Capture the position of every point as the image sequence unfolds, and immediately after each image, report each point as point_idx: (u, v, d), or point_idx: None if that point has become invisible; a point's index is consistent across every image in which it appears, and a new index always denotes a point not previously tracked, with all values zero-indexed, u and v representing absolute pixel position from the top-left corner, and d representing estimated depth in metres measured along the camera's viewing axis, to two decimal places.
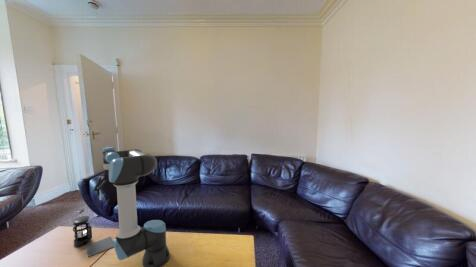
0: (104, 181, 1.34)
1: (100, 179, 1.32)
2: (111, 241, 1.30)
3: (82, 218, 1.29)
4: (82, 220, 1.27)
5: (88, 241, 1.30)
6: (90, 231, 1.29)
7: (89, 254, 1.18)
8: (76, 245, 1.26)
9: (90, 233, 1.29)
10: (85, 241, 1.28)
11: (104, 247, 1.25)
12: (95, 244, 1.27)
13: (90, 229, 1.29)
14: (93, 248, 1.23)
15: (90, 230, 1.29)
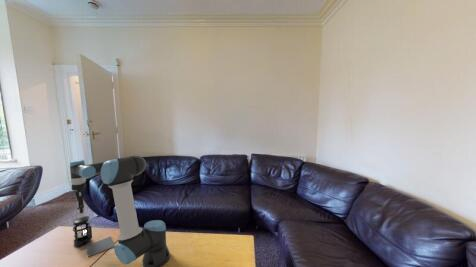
0: None
1: None
2: (111, 241, 1.30)
3: (82, 218, 1.29)
4: (82, 220, 1.27)
5: (88, 241, 1.30)
6: (90, 231, 1.29)
7: (89, 254, 1.18)
8: (76, 245, 1.26)
9: (90, 233, 1.29)
10: (85, 241, 1.28)
11: (104, 247, 1.25)
12: (95, 244, 1.27)
13: (90, 229, 1.29)
14: (93, 248, 1.23)
15: (90, 230, 1.29)
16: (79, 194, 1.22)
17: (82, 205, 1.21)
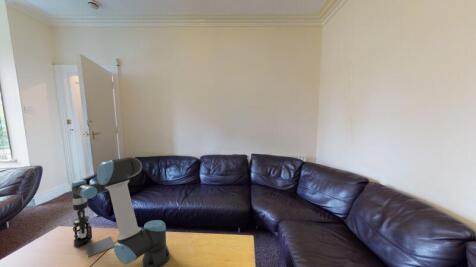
0: None
1: (78, 210, 1.32)
2: (111, 241, 1.30)
3: None
4: None
5: (88, 241, 1.30)
6: (90, 231, 1.29)
7: (89, 254, 1.18)
8: (76, 245, 1.26)
9: (90, 233, 1.29)
10: (85, 241, 1.28)
11: (104, 247, 1.25)
12: (95, 244, 1.27)
13: (90, 229, 1.29)
14: (93, 248, 1.23)
15: (90, 230, 1.29)
16: (81, 215, 1.23)
17: (84, 226, 1.24)
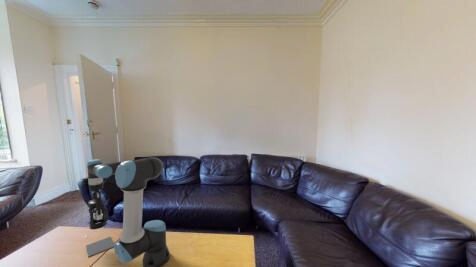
0: None
1: None
2: (111, 241, 1.30)
3: None
4: None
5: (104, 224, 1.24)
6: (106, 213, 1.24)
7: (89, 254, 1.18)
8: (92, 227, 1.20)
9: (106, 215, 1.24)
10: (101, 223, 1.22)
11: (104, 247, 1.25)
12: (95, 244, 1.27)
13: (106, 211, 1.24)
14: (93, 248, 1.23)
15: (106, 212, 1.24)
16: (97, 196, 1.18)
17: (100, 207, 1.18)
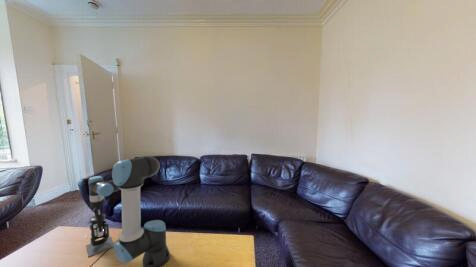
0: None
1: None
2: (111, 241, 1.30)
3: None
4: None
5: (105, 240, 1.25)
6: (107, 229, 1.25)
7: (89, 254, 1.18)
8: (93, 244, 1.21)
9: (107, 231, 1.25)
10: (102, 240, 1.23)
11: (104, 247, 1.25)
12: None
13: (107, 227, 1.24)
14: (93, 248, 1.23)
15: (107, 228, 1.24)
16: (98, 213, 1.19)
17: (101, 224, 1.19)
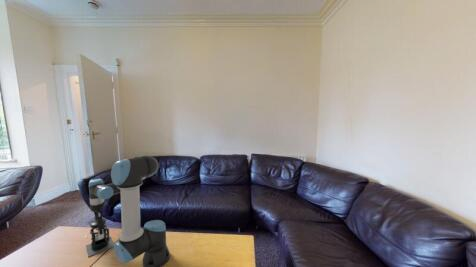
0: None
1: None
2: (111, 241, 1.30)
3: None
4: None
5: (105, 244, 1.25)
6: (108, 234, 1.25)
7: (89, 254, 1.18)
8: (94, 248, 1.21)
9: (108, 236, 1.25)
10: (103, 244, 1.24)
11: (104, 247, 1.25)
12: None
13: (108, 232, 1.25)
14: None
15: (108, 233, 1.25)
16: (98, 215, 1.19)
17: (102, 226, 1.18)
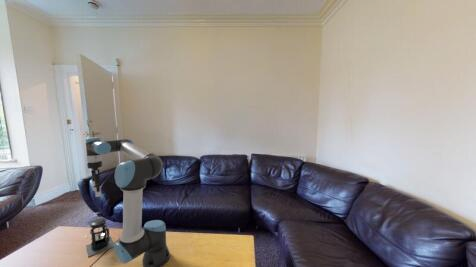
0: None
1: None
2: (111, 241, 1.30)
3: (99, 220, 1.25)
4: (100, 222, 1.23)
5: (105, 244, 1.25)
6: (108, 234, 1.25)
7: (89, 254, 1.18)
8: (94, 248, 1.21)
9: (108, 236, 1.25)
10: (103, 244, 1.24)
11: (104, 247, 1.25)
12: None
13: (108, 232, 1.25)
14: None
15: (108, 233, 1.25)
16: (96, 172, 1.17)
17: (99, 183, 1.16)
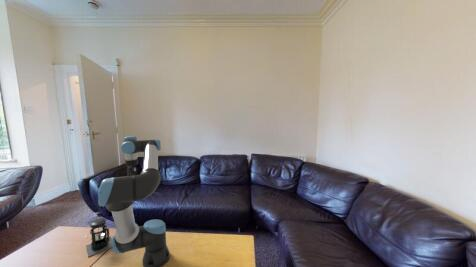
0: (129, 170, 1.30)
1: (127, 167, 1.31)
2: (111, 241, 1.30)
3: (99, 220, 1.25)
4: (100, 222, 1.23)
5: (105, 244, 1.25)
6: (108, 234, 1.25)
7: (89, 254, 1.18)
8: (94, 248, 1.21)
9: (108, 236, 1.25)
10: (103, 244, 1.24)
11: (104, 247, 1.25)
12: None
13: (108, 232, 1.25)
14: None
15: (108, 233, 1.25)
16: (134, 169, 1.22)
17: None
